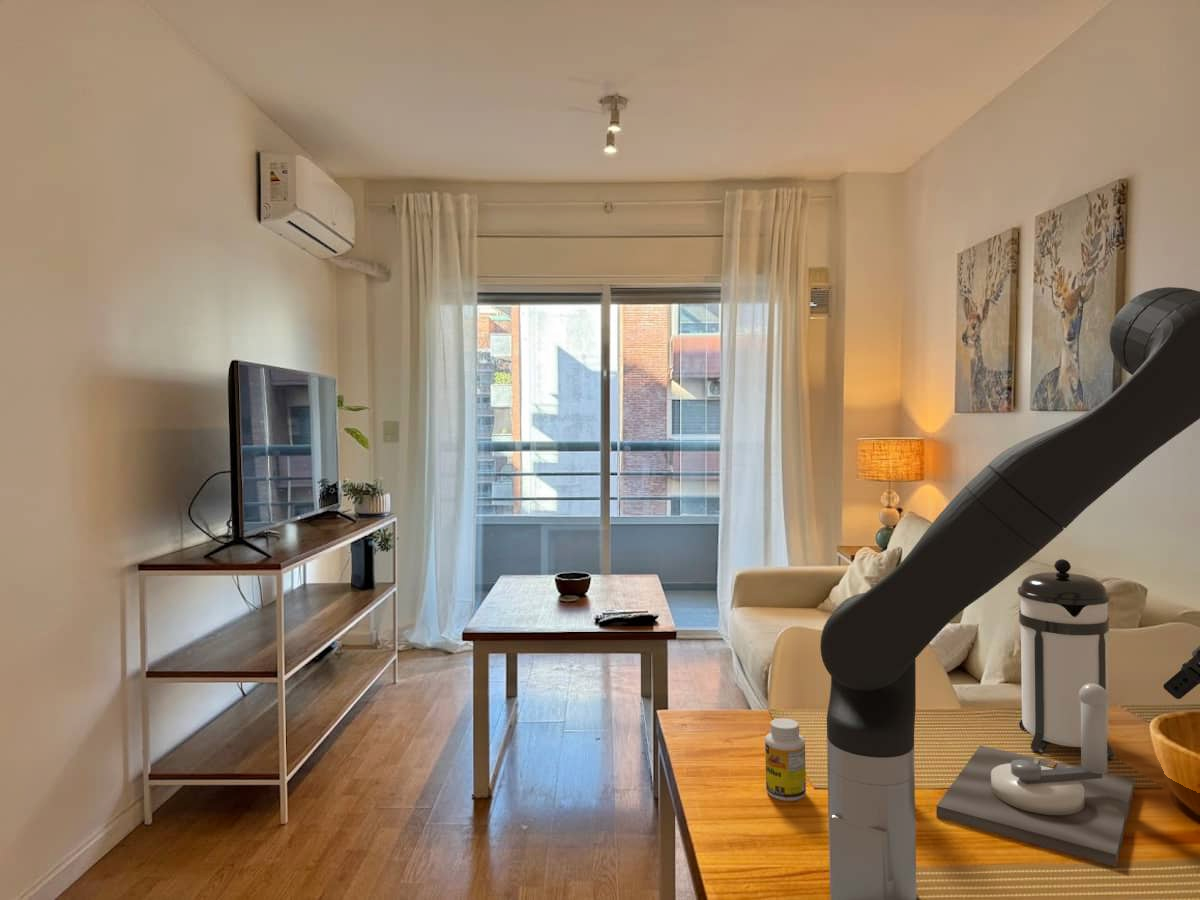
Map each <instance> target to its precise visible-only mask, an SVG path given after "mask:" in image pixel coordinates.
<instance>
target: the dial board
mask: <svg viewBox="0 0 1200 900" xmlns="http://www.w3.org/2000/svg"><path fill="white" fill-rule="evenodd" d="M1013 760H1027V761H1032V762H1034V763H1037V764H1038V765H1040V766H1045V767H1049V768H1053V769H1061V768H1073V767H1078V766H1076V765H1071V764H1066V763H1063V762H1059V761H1058V762H1057V761H1054V760H1048V759H1044V758H1040V757H1035V756H1029V755H1025V754H1021V753H1016V752H1012V751H1006V750H1003V749H999V748H994V747H990V746H989V747H988V746H984V745H979V746H978V747H977V749H976V750H975V752H974V753H973V755H972V756H971V757H970V759H969V760H968V761H967V763H966V764H965V766H964V767H963V768H962V769H961V771H960V772H959V774H958V775H957V776H956V778H955V780H954V781H953V782H952V783H951V785H950V786H949V788H948V789H947V791H945V793H944V795H943V796H942V797H941V799H940V800H939V802H938V803H937V805H936V807H935V810H936V812H935V813H936V814H935V815H936V818H939V819H943V820H946V821H949V822H953V823H957V824H959V825H960V824H961V825H963V826H968V827H972V828H974V829H978V830H982V831H985V832H989V833H993V834H997V835H999V836H1003V837H1007V838H1010V839H1014V840H1018V841H1021V842H1025V843H1028V844H1032V845H1035V846H1039V847H1043V848H1046V849H1050V850H1054V851H1057V852H1061V853H1064V854H1068V855H1071V856H1074V857H1079V858H1081V857H1082V859H1084V860H1085V859H1087V860H1089V861H1093V862H1096V861H1097V863H1099V862H1101V863H1100V864H1103V863H1104V864H1103V865H1106V864H1108V865H1107V866H1110V865H1112V866H1111V867H1114V866H1115V867H1114V868H1117V866H1118V861H1119V857H1120V852H1121V848H1122V844H1123V839H1124V835H1125V831H1126V826H1127V821H1128V818H1129V813H1130V808H1131V804H1132V799H1133V795H1134V791H1135V779H1134V778H1130V777H1126V776H1122V775H1118V774H1113V773H1108V772H1107V773H1103V774H1102V778H1099V779H1087V780H1078V781H1079V782H1080V783H1081V784H1082V785H1083V787H1084V808H1083V809H1082V810H1081V811H1079V812H1077V813H1075V814H1070V815H1045V814H1039V813H1034V812H1029V811H1026V810H1022V809H1019V808H1016V807H1014V806H1011V805H1009V804H1007V803H1005V802H1004V801H1002V800H1000V799H999V798H998V797H997V796H995V794H994V793H993V792H992V789H991V771H992V770H993V768H995V767H997V766H999V765H1002V764H1008V763H1011V762H1012V761H1013Z"/></svg>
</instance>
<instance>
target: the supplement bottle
mask: <svg viewBox="0 0 1200 900" xmlns="http://www.w3.org/2000/svg"><path fill="white" fill-rule="evenodd" d="M764 739H765V741H764V743H765V745H764V746H765V789H766V792H767V793H768V794H769V795H770V796H771V797H772V798H774V799H777V800H779V801H783V802H793V801H794V802H795V801H798V800H801V799H802V798H803V797H805V795H806V791H807V789H806V787H807V786H806V785H807V782H806V780H807V779H806V777H807V776H806V740H805V738H804V736H802V735H801V734H800V724H799V723H798V722H797V721H796V720H794V719H791V718H782V717H780V718H776V719H772V720H770V732H769V733H768V734H766V736H765V738H764Z"/></svg>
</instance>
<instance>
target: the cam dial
mask: <svg viewBox="0 0 1200 900" xmlns="http://www.w3.org/2000/svg"><path fill="white" fill-rule="evenodd" d="M1079 698H1080V700H1081V747H1080V753H1081V755H1080V761H1081V762H1080V763H1081V766H1077V767H1073V768H1061V769H1053V768H1049V767H1045V766H1040V765H1038V764H1037V763H1034V762H1032V761H1027V760H1013V761H1012V762H1011V763H1008V764H1002V765H999V766H997V767H995V768H993V770H992V771H991V789H992V792H993V793H994V794H995V796H997V797H998V798H999V799H1000V800H1002V801H1004V802H1005V803H1007V804H1009V805H1011V806H1014V807H1016V808H1019V809H1022V810H1026V811H1029V812H1034V813H1039V814H1045V815H1070V814H1075V813H1077V812H1079V811H1081V810H1082V809H1083V808H1084V787H1083V785H1082V784H1081V783H1080V782H1079V781H1078V780H1087V779H1099V778H1102V774H1103V773H1108V760H1107V756H1108V753H1107V741H1108V737H1107V703H1108V704H1109V693H1108V694H1107V692H1106V690H1105V689H1104V688H1103V687H1101V686H1100V685H1097V684H1093V683H1089V684H1086V685H1084V686H1082V687H1081V689H1080V691H1079Z"/></svg>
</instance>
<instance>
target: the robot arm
mask: <svg viewBox="0 0 1200 900" xmlns="http://www.w3.org/2000/svg"><path fill="white" fill-rule="evenodd" d="M1109 344H1110V345H1109V346H1110V351H1111V353H1112V354H1113V357H1114V359H1115V360H1116V362H1117V363H1118V364H1119V366H1121V368H1123V370H1125V372H1126V373H1128V374H1130V375H1131V376H1129V377H1128V379H1126V380H1125V381H1124V382H1123V383H1122V384H1120V386H1119V387H1117V389H1115V391H1113V392H1112V393H1111V394H1110V395H1109V396H1108V397H1106V398H1105V399H1103V401H1100V403H1099V404H1097V405H1096V406H1095V407H1093V408H1092V409H1090V410H1089V411H1087V412H1085V413H1083V414H1081V415H1080V416H1078V417H1076V418H1074V419H1071V420H1069V421H1067V422H1065V423H1063V424H1061V425H1058V426H1055V427H1053V428H1050V429H1049V430H1046V431H1043V432H1041V433H1039V434H1036V435H1033V436H1032V437H1029V438H1027V439H1023V441H1022V440H1021V442H1018V443H1017V444H1014V445H1012V446H1011V447H1009V448H1007V449H1006V450H1004V451H1002V452H1001V453H1000V454H999V455H997V456H995V458H993V459H992V460H991V461H990V462H988V465H986V466H985V467H984V468H983V469H981V471H979V472H978V473H977V475H976V476H975V477H973V478H972V479H971V480H970V481H969V482H968V483H967V484H966V485H965V486H964V487H963V488H962V489H961V490H960V491H959V492H958V493H957V494H956V496H954V498H953V499H952V500H951V501H950V502H949V503H948V504H947V505H946V506H945V508H944V509H943V510H942V511H941V512H940V513H939V514H938V516H937V517H936V518H935V519H934V521H933V522H932V523H931V525H929V527H928V528H927V529H926V531H925V532H924V533H923V534H922V536H921V537H920V539H919V540H918V541H917V542H916V544H915V545H914V546H913V548H912V549H911V550H910V552H909V553H908V554H907V556H906V557H905V558H904V559H903V560H902V561H901V562H900V563H898V565H897V566H896V567H895V568H894V569H892V570H891V571H890V572H889V573H888V574H887V575H886V576H885V577H883V578H882V579H881V580H879V581H878V582H877V583H876V584H875V585H873V586H872V587H871V588H869V589H868V590H867V591H866V592H862V593H861V592H860V593H858V594H854V595H852V596H850V597H847V598H846V599H845V600H843V601H842V602H841V603H840V604H839V605H838V606H837V608H836V609H835V610H834V611H833V612H832V614H831V615H830V616H829V617H828V618H827V620H826V622H825V624H824V626H823V628H822V633H821V635H820V655H821V660H822V662H823V665H824V667H825V669H826V671H827V672H828V674H829V676H830V678H831V679H830V691H829V693H830V694H829V701H828V707H827V708H828V709H827V713H826V741H827V742H826V744H827V749H826V751H827V754H826V755H827V763H826V764H827V765H826V766H827V799H828V800H827V801H828V802H827V813H828V854H829V856H828V857H829V860H828V861H829V865H828V866H829V889H830V891H829V892H830V893H829V894H830V900H917V898H918V895H917V855H916V854H917V850H916V849H917V847H916V839H917V838H916V799H915V798H916V795H915V794H916V793H915V792H916V787H915V786H916V784H915V722H916V710H917V709H916V705H917V704H916V702H917V701H916V696H917V695H916V677H917V676H916V673H917V672H916V669H917V667H916V658H918V656H919V655H920V654H921V653H922V652H923V651H924V649H925V648H926V647H927V646H928V645H929V644H930V643H931V642H932V640H934V639H935V638H936V637H937V635H938V634H940V632H941V631H942V630H943V629H944V628H945V627H946V626H948V625H949V623H950V622H951V621H952V620H953V619H954V618H955V617H957V615H958V614H960V613H961V612H963V610H965V609H966V608H968V606H970V605H971V604H973V603H974V602H976V601H977V600H979V599H980V598H981V597H983V596H985V595H986V594H987V593H988V592H990V591H992V589H994V588H995V587H996V586H998V585H999V584H1000V583H1001V582H1003V581H1004V580H1005V579H1007V578H1008V577H1009V576H1010V575H1012V574H1013V573H1014V572H1016V570H1018V569H1019V568H1020V567H1022V566H1023V565H1024V564H1026V563H1027V562H1029V560H1030V559H1031V558H1033V557H1035V556H1036V555H1037V554H1038V553H1039V552H1040V551H1041V550H1043V549H1044V548H1045V547H1046V546H1047V545H1048V544H1049V543H1051V542H1052V541H1053V540H1054V539H1055V538H1056V537H1058V535H1059V534H1061V533H1062V532H1063V531H1064V530H1065V529H1066V528H1068V526H1069V525H1070V524H1072V522H1074V521H1075V519H1077V518H1078V517H1079V515H1081V514H1082V513H1083V512H1084V511H1085V510H1086V509H1087V508H1089V506H1091V505H1092V504H1093V503H1094V502H1096V500H1098V499H1099V498H1100V497H1101V496H1103V495H1104V494H1105V493H1106V492H1107V491H1108V490H1110V489H1111V488H1112V487H1114V485H1116V484H1117V483H1118V482H1119V481H1120V480H1122V479H1123V478H1124V477H1125V476H1126V475H1127V474H1129V473H1130V472H1132V470H1134V468H1136V467H1137V466H1138V465H1139V464H1140V463H1142V462H1143V461H1144V460H1145V459H1147V458H1148V457H1150V456H1151V455H1152V454H1153V453H1155V451H1157V450H1159V449H1160V448H1162V447H1163V446H1164V445H1165V444H1166V443H1168V442H1169V441H1171V440H1172V439H1174V438H1175V437H1176V436H1178V435H1180V433H1182V432H1183V431H1185V430H1186V429H1187V428H1190V426H1192V425H1193V424H1194V423H1196V422H1198V420H1200V290H1195V289H1191V288H1186V287H1176V286H1175V287H1173V286H1171V287H1170V286H1167V287H1165V286H1164V287H1161V288H1160V287H1159V288H1153V289H1150V290H1148V291H1145V292H1143V293H1140V294H1138V295H1137V296H1134V297H1133V298H1131V300H1129V301H1128V302H1127V303H1126V304H1124V305H1123V306H1122V308H1120V310H1119V312H1117V314H1116V315H1115V318H1114V320H1113V321H1112V323H1111V326H1110V331H1109ZM1191 656H1192V657H1191V658H1190V659H1188V660H1187V661H1186V662H1184V663H1183V664H1182V665H1181V667H1180V670H1179V671H1178V672H1177V673H1175V674H1174V675H1172V677H1171V678H1170V679H1168V681H1167V680H1166V682H1164V684H1163V689H1164V690H1165V691H1166V692H1167V693H1168V694H1170V695H1171V696H1172V697H1173V698H1174V699H1177V700H1181V699H1182V698H1183V697H1185V696H1186V695H1187V694H1188V693H1189V692H1191V691H1192V690H1193V689H1195V687H1197V686H1198V685H1200V645H1198V646H1197V647H1196V648H1195V649H1193V651H1192V652H1191Z"/></svg>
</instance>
